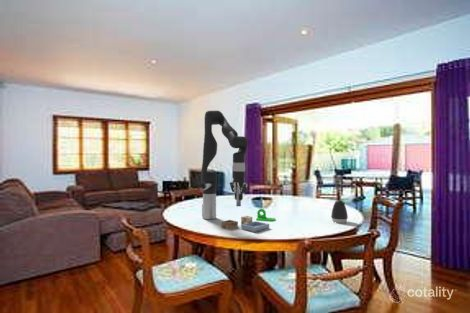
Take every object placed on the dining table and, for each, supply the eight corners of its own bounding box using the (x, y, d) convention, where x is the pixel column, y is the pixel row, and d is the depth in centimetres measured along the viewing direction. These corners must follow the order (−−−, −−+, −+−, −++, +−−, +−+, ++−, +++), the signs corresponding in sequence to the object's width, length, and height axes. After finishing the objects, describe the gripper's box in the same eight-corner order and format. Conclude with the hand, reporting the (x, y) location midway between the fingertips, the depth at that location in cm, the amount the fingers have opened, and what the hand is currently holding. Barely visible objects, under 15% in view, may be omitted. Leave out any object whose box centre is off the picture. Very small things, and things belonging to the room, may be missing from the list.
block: (241, 226, 185) (241, 216, 185) (246, 225, 189) (246, 215, 189) (246, 227, 182) (246, 217, 182) (252, 226, 185) (252, 216, 185)
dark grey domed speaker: (337, 225, 188) (337, 201, 188) (328, 221, 198) (328, 199, 198) (351, 224, 190) (351, 200, 190) (341, 221, 200) (341, 198, 200)
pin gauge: (235, 205, 172) (235, 185, 172) (238, 205, 174) (238, 185, 174) (238, 206, 170) (238, 185, 170) (241, 206, 172) (241, 185, 172)
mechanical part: (256, 221, 199) (256, 210, 199) (257, 220, 205) (257, 208, 205) (273, 222, 196) (273, 210, 196) (275, 221, 201) (275, 209, 201)
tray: (241, 229, 177) (241, 224, 177) (255, 225, 186) (255, 221, 186) (255, 232, 169) (255, 227, 169) (269, 229, 178) (269, 224, 178)
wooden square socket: (221, 228, 180) (221, 221, 180) (229, 226, 185) (229, 219, 185) (229, 230, 175) (229, 223, 175) (237, 228, 180) (237, 221, 180)
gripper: (225, 170, 174) (225, 199, 174) (242, 171, 164) (242, 202, 164) (234, 169, 179) (234, 197, 180) (251, 170, 169) (251, 200, 170)
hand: (238, 199), depth 172 cm, fingers closed on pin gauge, 2 cm apart
